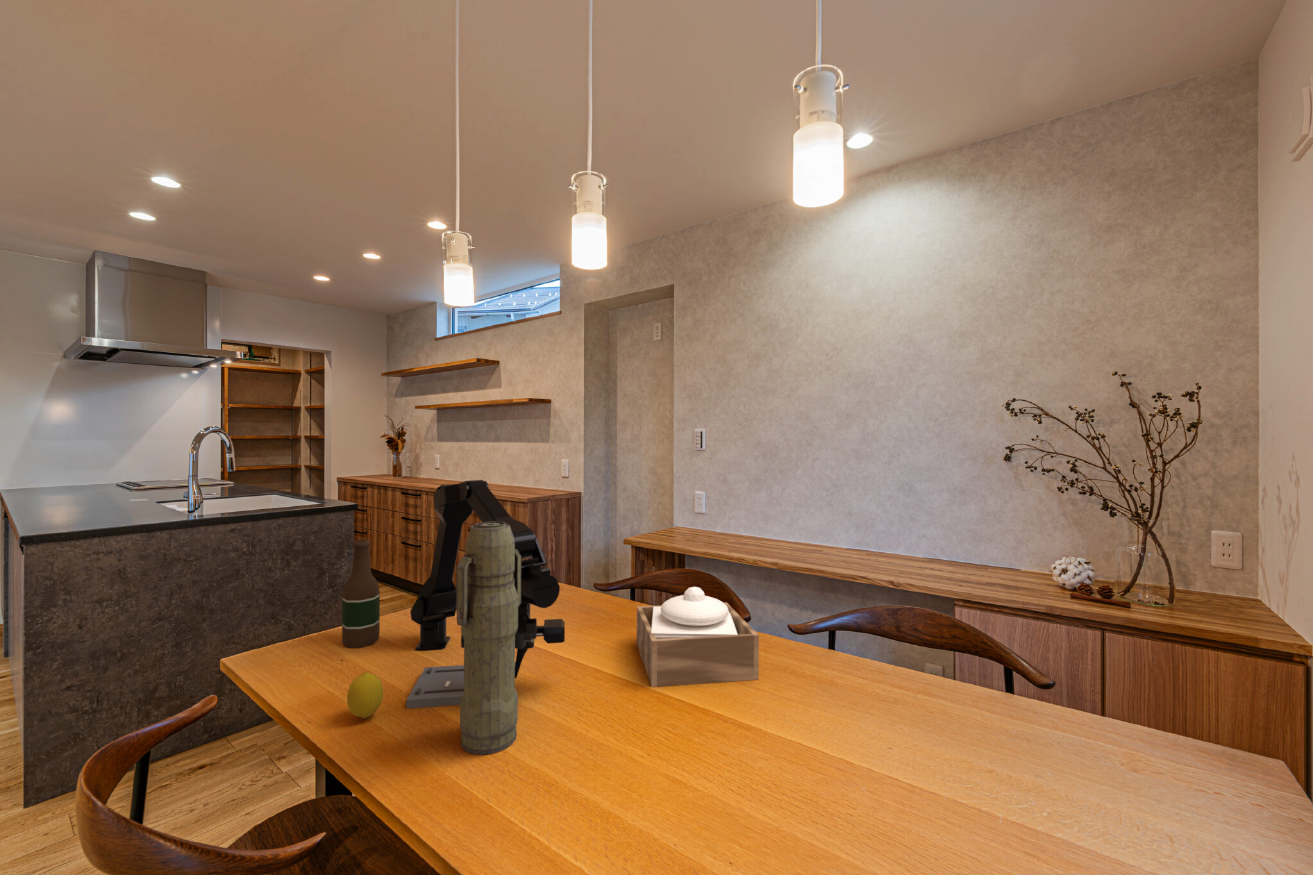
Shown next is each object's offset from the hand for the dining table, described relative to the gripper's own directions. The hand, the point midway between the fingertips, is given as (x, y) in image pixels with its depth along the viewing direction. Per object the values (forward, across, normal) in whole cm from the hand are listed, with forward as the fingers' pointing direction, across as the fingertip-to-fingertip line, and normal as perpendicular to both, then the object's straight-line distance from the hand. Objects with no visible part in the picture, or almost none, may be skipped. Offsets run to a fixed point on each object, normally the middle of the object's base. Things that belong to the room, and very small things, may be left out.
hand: (514, 677), depth 104 cm
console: (+3, -10, +4) cm, 11 cm away
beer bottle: (+4, -38, +32) cm, 50 cm away
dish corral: (+3, +37, +10) cm, 39 cm away
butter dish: (+3, +37, +10) cm, 39 cm away
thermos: (+3, -3, -15) cm, 16 cm away
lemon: (+3, -25, -5) cm, 25 cm away
